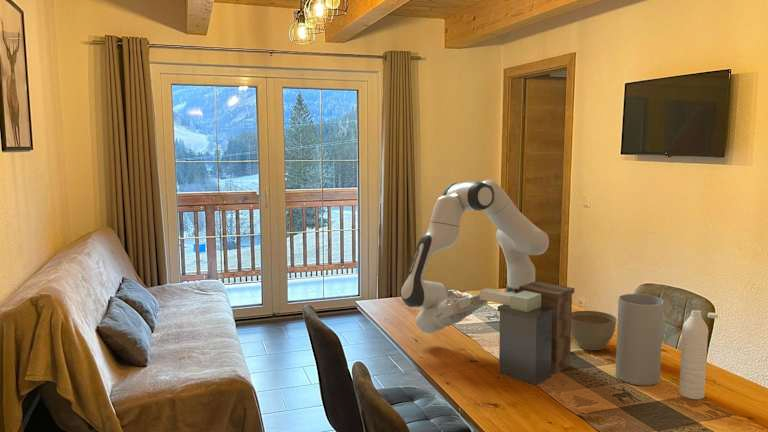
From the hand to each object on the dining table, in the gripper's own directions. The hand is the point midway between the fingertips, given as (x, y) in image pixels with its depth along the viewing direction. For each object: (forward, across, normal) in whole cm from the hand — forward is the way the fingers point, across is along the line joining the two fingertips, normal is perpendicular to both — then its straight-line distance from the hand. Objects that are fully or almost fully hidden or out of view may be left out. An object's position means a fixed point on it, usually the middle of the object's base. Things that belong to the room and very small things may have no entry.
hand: (479, 298), depth 191 cm
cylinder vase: (+27, +22, +40) cm, 53 cm away
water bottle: (+42, +21, +49) cm, 68 cm away
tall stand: (+5, +12, +27) cm, 30 cm away
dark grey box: (+4, 0, +27) cm, 28 cm away
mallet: (+10, 0, +5) cm, 11 cm away
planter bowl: (+7, +38, +29) cm, 48 cm away
